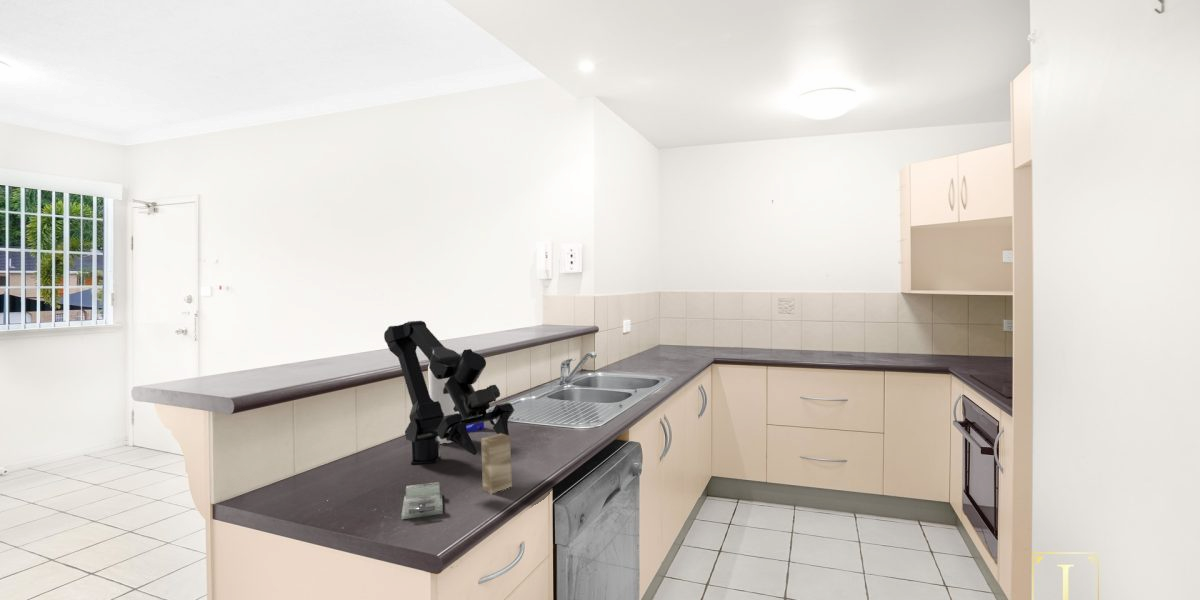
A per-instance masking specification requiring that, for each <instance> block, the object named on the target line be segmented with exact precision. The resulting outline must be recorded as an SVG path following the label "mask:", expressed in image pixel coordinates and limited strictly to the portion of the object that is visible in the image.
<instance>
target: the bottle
mask: <svg viewBox="0 0 1200 600" xmlns="http://www.w3.org/2000/svg"><path fill="white" fill-rule="evenodd" d="M446 348H447V349H450V348H449V347H446ZM429 365H430V363H429V364H428V367H427V371H428V372H427V373H428V392H429V395H430V398H431V399H432V400H433V401H434V402H436V401H438V402H439V403H440V404H441V409H442V411H443V413H444V416H447V415H452V414H457V413H458V411H457V412H455V411H454V409H453V408H454V406H455V404H454V402H453V400H452V398H451V396H450V395H449V393H448V394H443V389H444V387H445V383H447V381H448V379H449V378H445V379H437V378H435V376H434V375H433V373H432V371H431V370H430V368H429ZM438 441H440V445H444V444H443V443H447V444H451V442H452V441H447V440H446V438H445V439H440V437H439V436H438ZM452 443H453V442H452Z"/></svg>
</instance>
